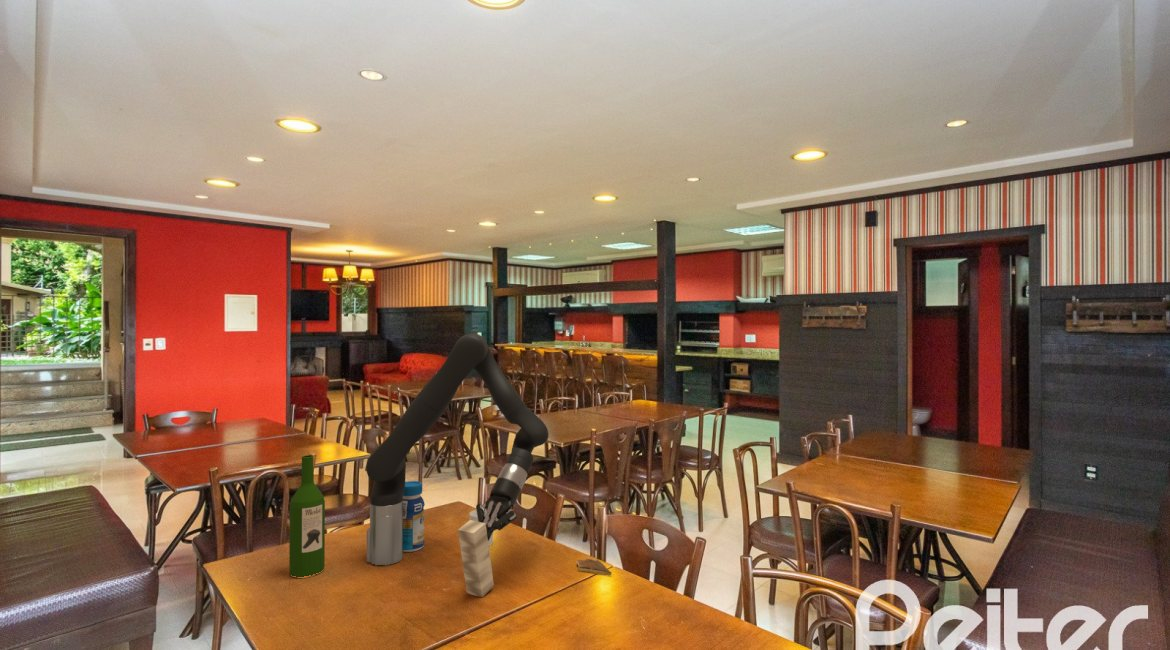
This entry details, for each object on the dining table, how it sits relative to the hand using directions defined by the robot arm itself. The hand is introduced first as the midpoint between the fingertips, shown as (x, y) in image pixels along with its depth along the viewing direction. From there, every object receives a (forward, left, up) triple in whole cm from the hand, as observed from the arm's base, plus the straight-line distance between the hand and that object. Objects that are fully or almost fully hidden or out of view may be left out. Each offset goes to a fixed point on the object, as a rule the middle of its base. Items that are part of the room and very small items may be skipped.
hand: (481, 541), depth 151 cm
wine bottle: (-52, +4, -13) cm, 54 cm away
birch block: (0, 0, -12) cm, 12 cm away
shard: (+28, +19, -14) cm, 36 cm away
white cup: (-10, +31, -13) cm, 35 cm away
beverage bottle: (-31, +25, -13) cm, 42 cm away
